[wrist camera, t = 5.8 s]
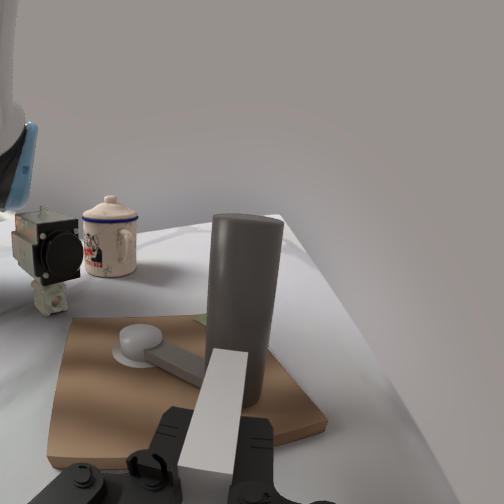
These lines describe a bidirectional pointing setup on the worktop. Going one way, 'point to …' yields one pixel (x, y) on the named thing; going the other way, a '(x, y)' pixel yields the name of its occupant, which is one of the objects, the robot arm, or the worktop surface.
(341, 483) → the worktop surface
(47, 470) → the worktop surface
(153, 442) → the robot arm
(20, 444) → the worktop surface
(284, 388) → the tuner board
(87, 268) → the teacup with lid
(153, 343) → the peg lever
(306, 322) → the worktop surface
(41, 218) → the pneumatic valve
